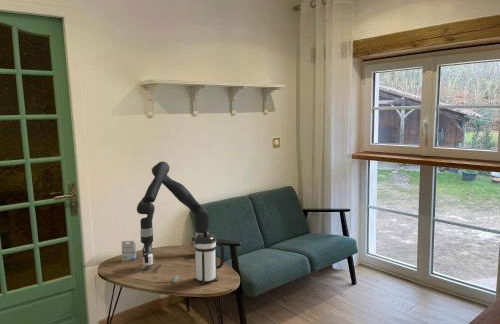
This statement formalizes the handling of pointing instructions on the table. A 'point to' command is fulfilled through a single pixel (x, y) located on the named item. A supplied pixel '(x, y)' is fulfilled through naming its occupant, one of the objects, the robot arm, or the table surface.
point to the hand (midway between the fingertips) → (147, 260)
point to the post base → (156, 266)
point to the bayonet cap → (150, 259)
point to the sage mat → (170, 282)
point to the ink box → (128, 250)
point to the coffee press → (206, 257)
